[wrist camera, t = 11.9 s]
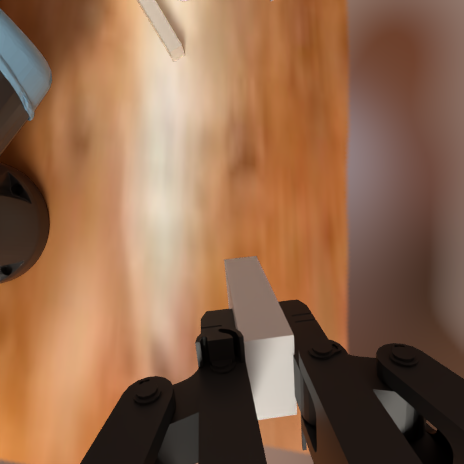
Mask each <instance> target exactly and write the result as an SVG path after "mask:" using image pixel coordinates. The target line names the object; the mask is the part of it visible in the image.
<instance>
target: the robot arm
mask: <svg viewBox="0 0 464 464" xmlns="http://www.w3.org/2000/svg"><path fill="white" fill-rule="evenodd" d="M51 83H52V74H51V69H50V67H49V65H48V63H47V61H46V59H45V58H44V56H43V55H42V54H41V52H40V51H39V50H38V49H37V48H36V46H35V45H34V44H33V43H32V42H31V41H30V39H29V38H28V37H27V36H26V35H25V34H24V33H23V32H22V31H21V30H20V28H19V27H18V26H17V25H16V24H15V23H14V22H13V21H12V20H11V19H10V18H9V17H8V16H7V15H6V14H5V13H4V12H3V10H2V9H1V8H0V156H1V154H2V153H3V152H4V150H5V149H6V148H7V146H8V145H9V144H10V142H11V141H12V140H13V138H14V137H15V136H16V134H17V133H18V132H19V130H20V129H21V128H22V126H23V125H24V124H25V122H26V121H27V120H29V121H31V120H32V119H33V117H34V111H35V109H36V108H37V106H38V105H39V103H40V102H41V101H42V99H43V98H44V96H45V95H46V93H47V92H48V90H49V89H50V86H51ZM48 233H49V217H48V211H47V207H46V204H45V201H44V199H43V197H42V195H41V193H40V191H39V190H38V188H37V187H36V186H35V184H34V183H33V182H32V181H31V180H30V179H29V178H28V177H27V176H26V175H24V174H23V173H22V172H20V171H19V170H17V169H15V168H13V167H11V166H8V165H6V164H2V163H0V283H4V282H8V281H11V280H13V279H15V278H17V277H19V276H21V275H22V274H24V273H25V272H27V271H28V270H29V269H30V268H31V267H32V266H33V265H34V264H35V263H36V261H37V260H38V259H39V257H40V256H41V254H42V252H43V250H44V248H45V245H46V242H47V238H48ZM224 261H225V272H226V282H227V292H228V302H229V309H223V310H215V311H207V312H206V313H205V314H204V316H203V317H202V318H201V334H200V335H199V336H198V337H197V339H196V342H195V344H196V351H197V359H198V367H199V369H198V370H197V371H196V372H195V374H194V375H192V376H191V377H189V378H188V379H186V380H184V381H182V382H180V383H177V384H174V385H172V383H171V382H170V381H169V380H167V379H166V378H163V377H158V376H154V377H147V378H144V379H141V380H138V381H137V382H135V383H133V384H132V385H130V386H129V387H128V388H127V390H126V391H125V392H124V393H123V395H122V396H121V398H120V399H119V401H118V403H117V404H116V406H115V408H114V409H113V411H112V412H111V414H110V416H109V417H108V419H107V421H106V422H105V424H104V426H103V427H102V429H101V430H100V432H99V434H98V435H97V437H96V439H95V440H94V442H93V444H92V445H91V447H90V448H89V450H88V452H87V453H86V455H85V457H84V458H83V460H82V461H81V463H80V464H196V463H198V464H267V462H266V458H265V453H264V448H263V443H262V438H261V433H260V429H259V424H258V420H261V419H268V418H275V417H282V416H289V415H296V414H297V403H298V406H299V409H300V411H301V430H302V448H303V450H307V449H306V442H307V445H308V448H309V451H310V454H311V457H312V459H313V462H314V464H464V379H463V378H461V377H460V376H458V375H457V374H455V373H454V372H452V371H451V370H449V369H448V368H446V367H445V366H443V365H442V364H440V363H439V362H437V361H436V360H434V359H433V358H431V357H430V356H428V355H427V354H425V353H424V352H422V351H421V350H419V349H416V348H414V347H412V346H408V345H405V344H396V343H393V344H386V345H383V346H382V347H380V348H379V349H378V351H377V353H376V358H369V357H358V356H352V355H349V354H348V353H347V352H346V350H345V349H344V348H343V347H342V346H341V345H340V344H339V343H337V342H334V341H332V340H328V338H327V336H326V335H325V333H324V332H323V330H322V329H321V327H320V325H319V324H318V322H317V321H316V320H315V318H314V316H313V314H311V311H310V310H309V308H308V307H307V305H305V304H304V303H302V302H300V301H299V300H289V301H281V302H278V301H277V299H276V296H275V294H274V292H273V290H272V288H271V286H270V284H269V282H268V280H267V278H266V275H265V273H264V271H263V269H262V267H261V265H260V263H259V261H258V259H257V256H253V257H244V258H235V259H226V260H224ZM296 401H297V402H296ZM426 419H427V420H428V421H429V422H430V423H431V424H432V425H433V426H435V427H436V428H437V431H436V430H434V429H432V428H431V427H430V426H429V425H428V424H427V423H426Z"/></svg>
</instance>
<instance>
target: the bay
mask: <svg viewBox="0 0 464 464" xmlns="http://www.w3.org/2000/svg"><path fill="white" fill-rule="evenodd" d="M137 1H138V3H139V5H140V7H141V8H142V10H143V12H144V13H145V15H146V17H147V18H148V20H149V22H150V23H151V25H152V27H153V28H154V30H155V32H156V33H157V35H158V37H159V38H160V40H161V42H162V43H163V45H164V47H165V48H166V50H167V52H168V53H169V55H170V57H171V58H172V60H173V62H175V61H176V60H178V59H180V58H181V57H183V56H184V55H185V53H184V50H183V47H182V44H181V42H180V41H179V39H178V37H177V36H176V34H175V32H174V31H173V29H172V27H171V26H170V24H169V22H168V21H167V19H166V17H165V16H164V14H163V12H162V11H161V9H160V7H159V6H158V4H157V2H156V0H137ZM270 1H273V0H270Z"/></svg>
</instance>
